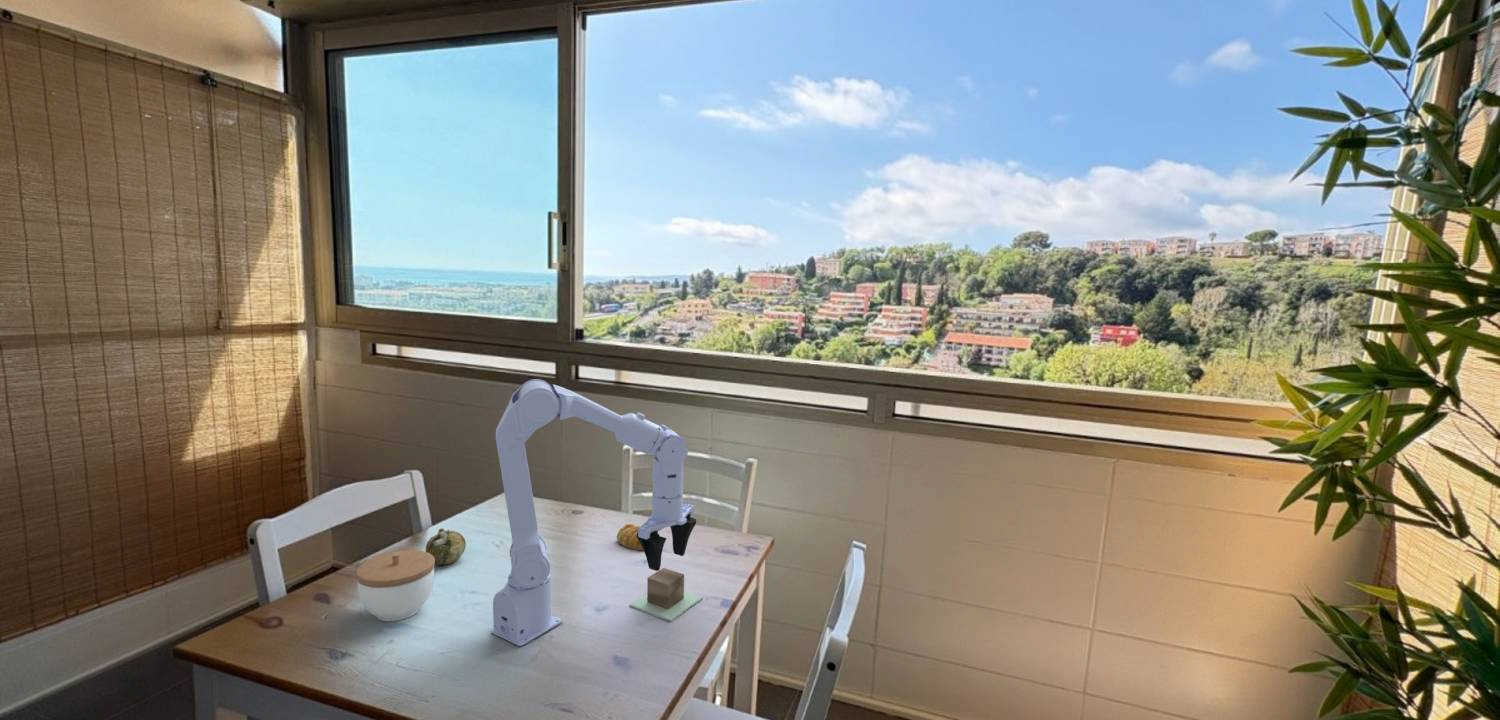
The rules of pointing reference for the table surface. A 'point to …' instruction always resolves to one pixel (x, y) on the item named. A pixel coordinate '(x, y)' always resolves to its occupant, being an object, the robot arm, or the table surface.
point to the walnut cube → (665, 588)
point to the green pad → (666, 613)
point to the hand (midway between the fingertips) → (666, 561)
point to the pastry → (629, 537)
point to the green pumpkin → (446, 546)
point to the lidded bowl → (396, 583)
